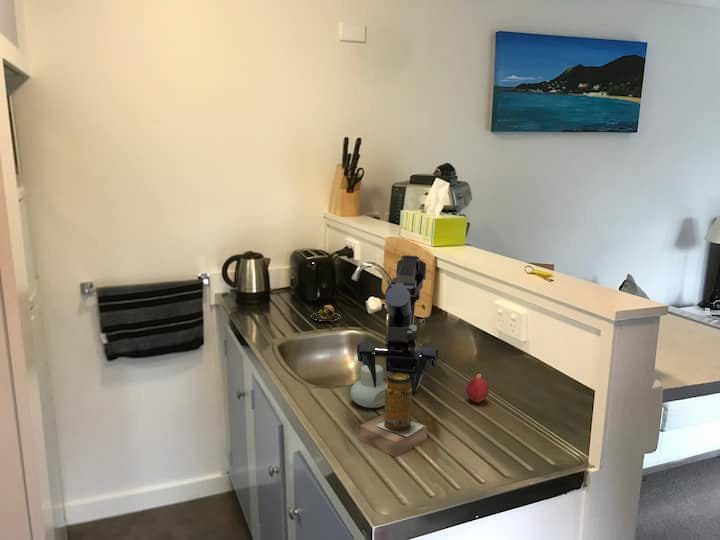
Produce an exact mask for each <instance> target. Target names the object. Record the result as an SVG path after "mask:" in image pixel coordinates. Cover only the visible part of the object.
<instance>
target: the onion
mask: <svg viewBox="0 0 720 540" xmlns="http://www.w3.org/2000/svg"><path fill="white" fill-rule="evenodd" d="M489 389H490V388H489V386H488V382H487V381H485V379H483V378H482V374H481V373H479V374H477V375H476V376H474V377H473V378H471V379H470V380H469V381H468V382H467V385H466V389H465V390H466V392H465V393H466V395H467V397H469V399H470V400H471V401H473V402H474V403H477V404H478V403H480V402H481V401H484V400H485V399H486V398H487V397H488V396H489V392H490V391H489Z"/></svg>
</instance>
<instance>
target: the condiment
mask: <svg viewBox="0 0 720 540" xmlns="http://www.w3.org/2000/svg"><path fill="white" fill-rule="evenodd" d="M410 381H411V377H410V376H409V375H408V374H405V373H400V372H396V373H391V374H390V373H389V374H388V375H387V382H386V383H387V384H388V385H387V386H386V389H385V405H384V414H385V416H384V420H385V421H383V422H382V423H379V424H378V425H376V426H378V427H380V428H383V429H385V430H388V431H391V432H395V433H397V434H400V435H403V436H406V437H407V436H410V435H411V434H413V433H415V432H416V431H418V430H419V429H421V428H422V427H424V426H423V425H424V424H423V425H421V424H422V423H420V424H418V423H419V422H418V423H415V422H412V421H411V420H412V400H413V399H412V398H413V393H412V388H411V382H410Z"/></svg>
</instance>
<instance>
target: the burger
mask: <svg viewBox="0 0 720 540" xmlns="http://www.w3.org/2000/svg"><path fill="white" fill-rule="evenodd" d="M332 303H333V302H332ZM332 303H331V304H327V305H324V306H323V309H322V308H320V310H319V311H318V312H315V313H312V314H311V315H310V317H311V318H312V315H314V314H316V313H320V314H319V315H320V317H321V318H323V319H331V318H332V316H334V314H337V315H339V316H340V318H341V319H342V316H341V315H340V314H339V313H336V312H335V308H334V306H332ZM340 318H338V319H340ZM312 319H314V318H312ZM338 319H335V320H327V321H330V322H331V321H336V322H337V320H338ZM314 320H315V321H317V319H314ZM321 321H322V320H319V321H318V322H321ZM324 321H325V320H324ZM330 322H329V323H330Z"/></svg>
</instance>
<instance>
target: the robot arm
mask: <svg viewBox="0 0 720 540" xmlns="http://www.w3.org/2000/svg"><path fill="white" fill-rule="evenodd" d="M400 258H401V259H400V260H398V261H397V263H396V271H395V272H396V273H395V274H396V277H393V278H392V279H391V282H390V283H389V285H387V287H386V289H385V293H384V300H385V304H386V311H387V314H388V315H387V324H386V325H387V326H386V334H385V341H384V342H385V344H384V346H385V348H378V347H377V348H376V344H375V343H376V342H370V341H369V342H368V341H360V342H358V344H357V347H356V348H357V349H356V354H357V362H359V363H362V366H364V365H367V366H368V368H369V371H370V373H371V377H372V381H373V385H374V388H376V366H375V364H376V357H377V358H386V360H385V367H386V368H385V370H386V372H389V374H391V373H396V372H400V373H405V374H408V375H409V376H410V377H411V381H410V382H411V388H412V394H414V393H417V392H418V387H419V384H420V382H421V381H422V379H423V376H424V375H425V374H426V372H427V370H431V369H432V367H437V365H438V358H439V349H438V348H437V346H431V345H420V350H417V344H416V340H417V337H418V335H417V334H418V325H415V324H414V321H415V313H416V303H417V302H418V301H419V300H420V298H421V290H422V289H423V287H424V281H426V280H427V264H426V262H424V261H422V260H421V259H420V256H417V255H408V254H407V255H401V257H400ZM415 375H416V376H415Z"/></svg>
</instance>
